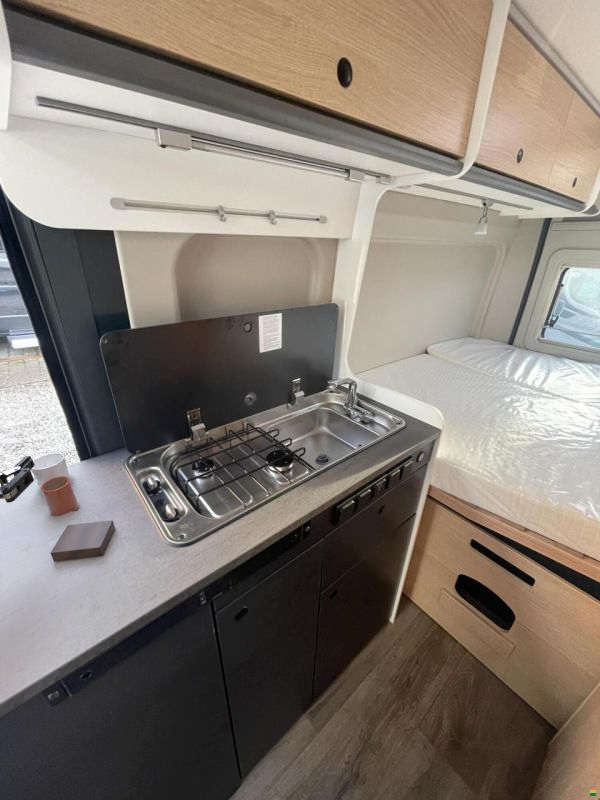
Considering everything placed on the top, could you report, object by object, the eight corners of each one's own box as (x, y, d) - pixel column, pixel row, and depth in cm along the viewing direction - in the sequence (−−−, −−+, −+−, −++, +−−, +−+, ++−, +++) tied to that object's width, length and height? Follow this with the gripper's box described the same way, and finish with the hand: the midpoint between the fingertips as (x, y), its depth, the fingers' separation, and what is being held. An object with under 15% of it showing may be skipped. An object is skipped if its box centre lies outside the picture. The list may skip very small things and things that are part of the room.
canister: (46, 520, 84) (34, 492, 80) (58, 503, 90) (48, 476, 86) (72, 517, 85) (62, 490, 81) (82, 501, 91) (73, 474, 87)
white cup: (39, 502, 90) (27, 472, 86) (42, 485, 96) (31, 457, 92) (73, 492, 94) (63, 464, 89) (74, 477, 100) (64, 449, 96)
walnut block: (55, 565, 72) (50, 553, 70) (72, 537, 79) (67, 525, 78) (104, 559, 74) (100, 547, 72) (116, 532, 81) (112, 520, 79)
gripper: (-24, 503, 45) (40, 441, 60) (-147, 514, 43) (-49, 447, 57) (-4, 542, 48) (52, 474, 63) (-117, 555, 46) (-32, 481, 61)
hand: (4, 461), depth 60 cm, fingers open, 8 cm apart
